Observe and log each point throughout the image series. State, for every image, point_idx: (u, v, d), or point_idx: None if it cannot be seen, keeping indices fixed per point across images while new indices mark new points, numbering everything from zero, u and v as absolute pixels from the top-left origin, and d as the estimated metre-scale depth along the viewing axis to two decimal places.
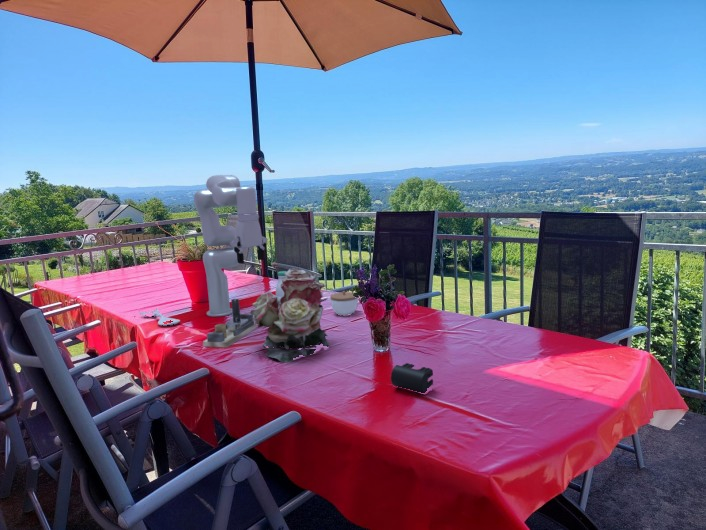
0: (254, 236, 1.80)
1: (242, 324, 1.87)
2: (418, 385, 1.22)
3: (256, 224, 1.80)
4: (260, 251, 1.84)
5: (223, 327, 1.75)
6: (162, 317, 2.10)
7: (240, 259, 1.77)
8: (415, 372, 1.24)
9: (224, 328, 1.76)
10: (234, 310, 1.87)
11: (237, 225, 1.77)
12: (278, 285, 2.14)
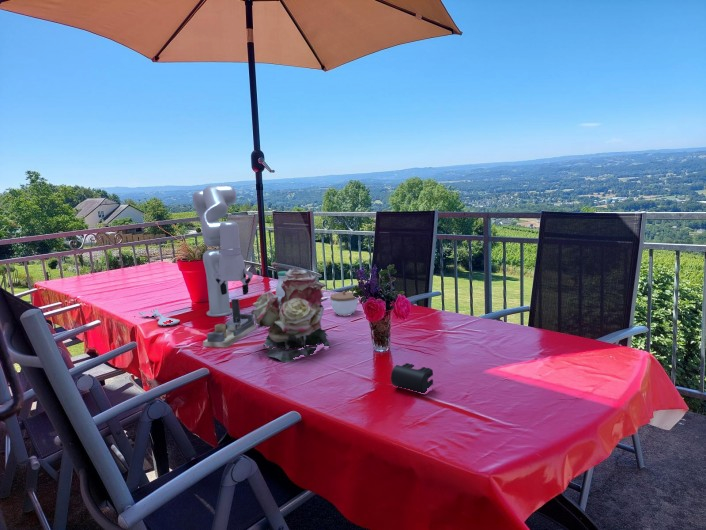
0: None
1: (242, 324, 1.87)
2: (418, 385, 1.22)
3: None
4: (225, 285, 1.88)
5: (223, 327, 1.75)
6: (162, 317, 2.11)
7: None
8: (415, 372, 1.24)
9: (224, 328, 1.76)
10: (234, 310, 1.87)
11: (241, 258, 1.83)
12: (278, 285, 2.14)
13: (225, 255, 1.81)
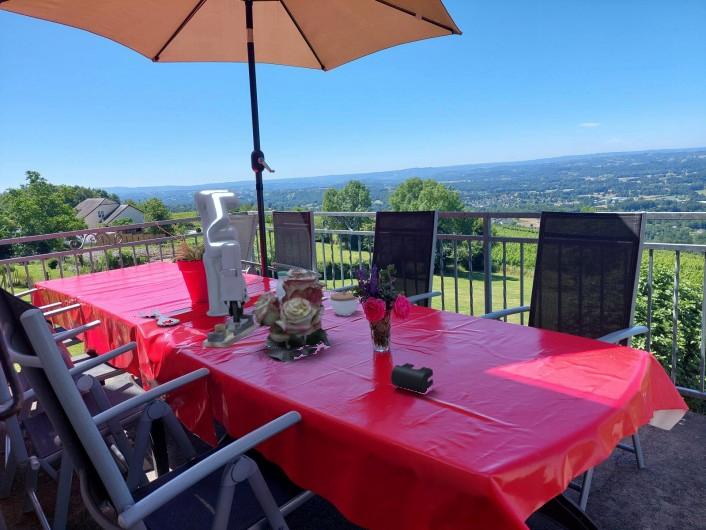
0: None
1: (242, 324, 1.87)
2: (418, 385, 1.22)
3: None
4: None
5: (223, 327, 1.75)
6: (161, 317, 2.11)
7: None
8: (415, 372, 1.24)
9: (224, 328, 1.76)
10: (234, 310, 1.87)
11: (242, 278, 1.85)
12: (278, 285, 2.14)
13: (227, 275, 1.83)
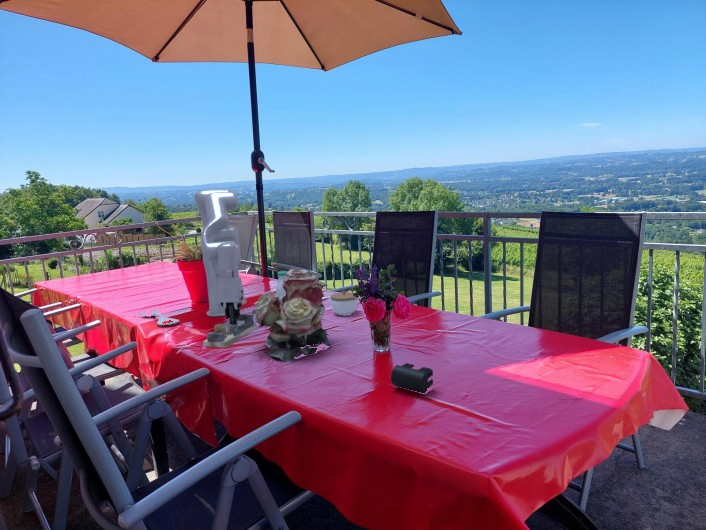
0: None
1: (239, 326, 1.84)
2: (418, 385, 1.22)
3: None
4: None
5: (223, 327, 1.75)
6: (161, 317, 2.11)
7: None
8: (415, 372, 1.24)
9: (224, 328, 1.76)
10: (230, 312, 1.84)
11: (239, 280, 1.82)
12: (278, 285, 2.14)
13: (223, 277, 1.80)
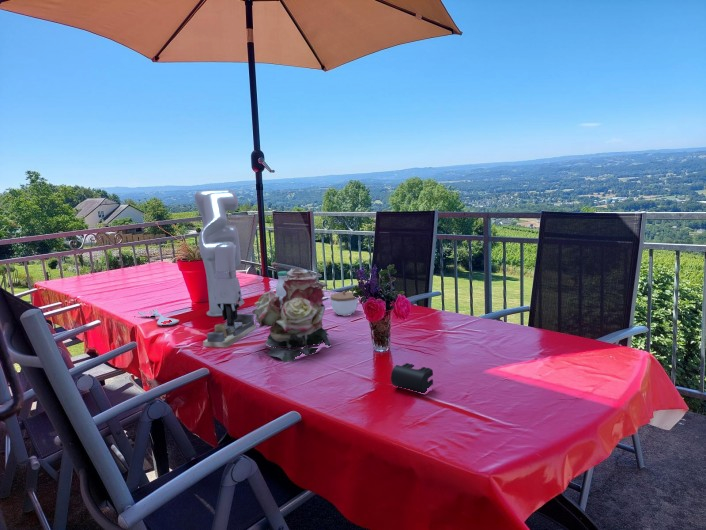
0: None
1: (236, 328, 1.82)
2: (418, 385, 1.22)
3: None
4: None
5: (223, 327, 1.75)
6: (161, 317, 2.11)
7: None
8: (415, 372, 1.24)
9: (224, 328, 1.76)
10: (228, 313, 1.82)
11: (236, 281, 1.80)
12: (278, 285, 2.14)
13: (220, 278, 1.78)
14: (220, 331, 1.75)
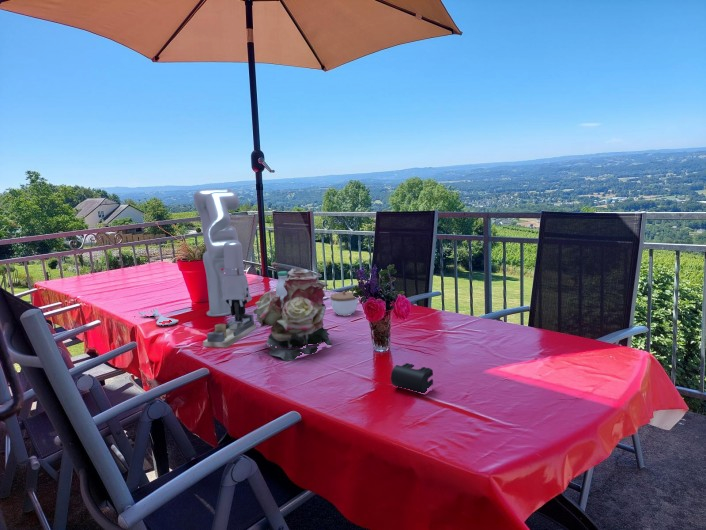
0: None
1: (244, 323, 1.88)
2: (418, 385, 1.22)
3: None
4: None
5: (224, 326, 1.76)
6: (161, 317, 2.11)
7: None
8: (415, 372, 1.24)
9: (224, 328, 1.76)
10: (236, 309, 1.89)
11: (244, 277, 1.86)
12: (278, 285, 2.14)
13: (229, 275, 1.84)
14: (221, 331, 1.75)
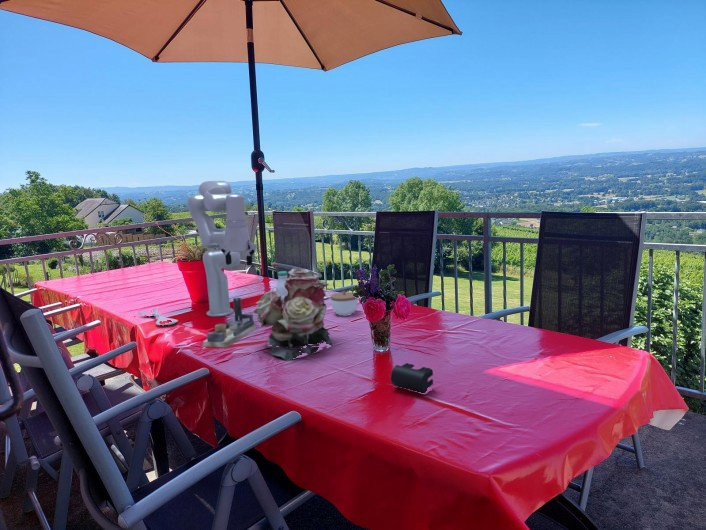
0: None
1: (244, 323, 1.88)
2: (418, 385, 1.22)
3: None
4: (230, 256, 1.94)
5: (224, 327, 1.76)
6: (160, 317, 2.11)
7: None
8: (415, 372, 1.24)
9: (225, 328, 1.76)
10: (236, 309, 1.89)
11: (246, 230, 1.88)
12: (278, 285, 2.14)
13: (230, 226, 1.86)
14: (221, 331, 1.75)
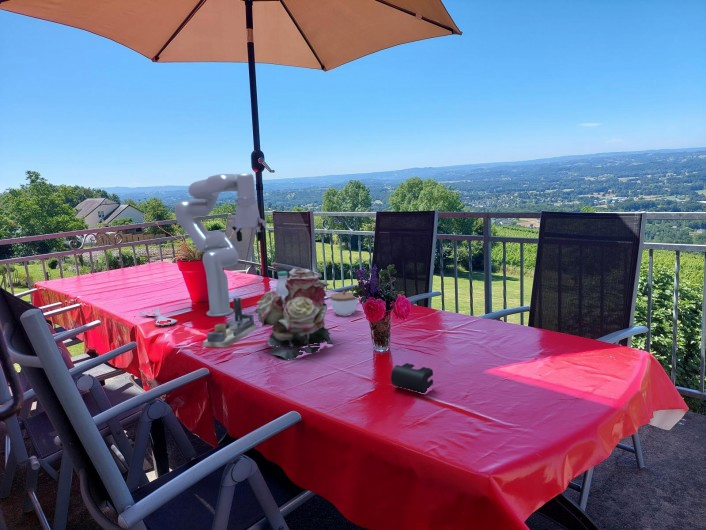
0: None
1: (244, 323, 1.88)
2: (418, 385, 1.22)
3: None
4: (240, 233, 2.03)
5: (224, 327, 1.76)
6: (160, 317, 2.11)
7: None
8: (415, 372, 1.24)
9: (225, 328, 1.76)
10: (236, 309, 1.89)
11: (256, 207, 1.98)
12: (278, 285, 2.14)
13: (241, 204, 1.96)
14: (221, 331, 1.75)
